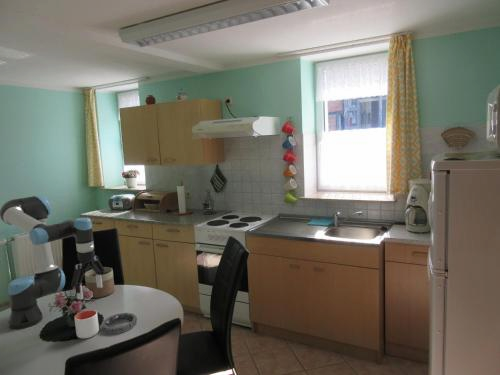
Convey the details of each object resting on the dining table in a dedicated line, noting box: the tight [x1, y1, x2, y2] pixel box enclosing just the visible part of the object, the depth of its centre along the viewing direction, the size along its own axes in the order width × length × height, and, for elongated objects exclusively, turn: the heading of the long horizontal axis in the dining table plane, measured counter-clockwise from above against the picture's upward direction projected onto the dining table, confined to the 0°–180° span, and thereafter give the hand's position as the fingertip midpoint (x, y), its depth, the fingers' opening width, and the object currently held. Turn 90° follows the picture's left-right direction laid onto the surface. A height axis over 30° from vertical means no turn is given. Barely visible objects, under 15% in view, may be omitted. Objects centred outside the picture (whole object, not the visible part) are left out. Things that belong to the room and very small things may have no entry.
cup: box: [74, 309, 100, 340], centre depth 179 cm, size 10×10×10 cm
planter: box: [84, 266, 116, 299], centre depth 227 cm, size 16×16×14 cm
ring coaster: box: [101, 312, 138, 335], centre depth 186 cm, size 16×16×3 cm
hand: (90, 292), depth 179 cm, fingers open, 13 cm apart
